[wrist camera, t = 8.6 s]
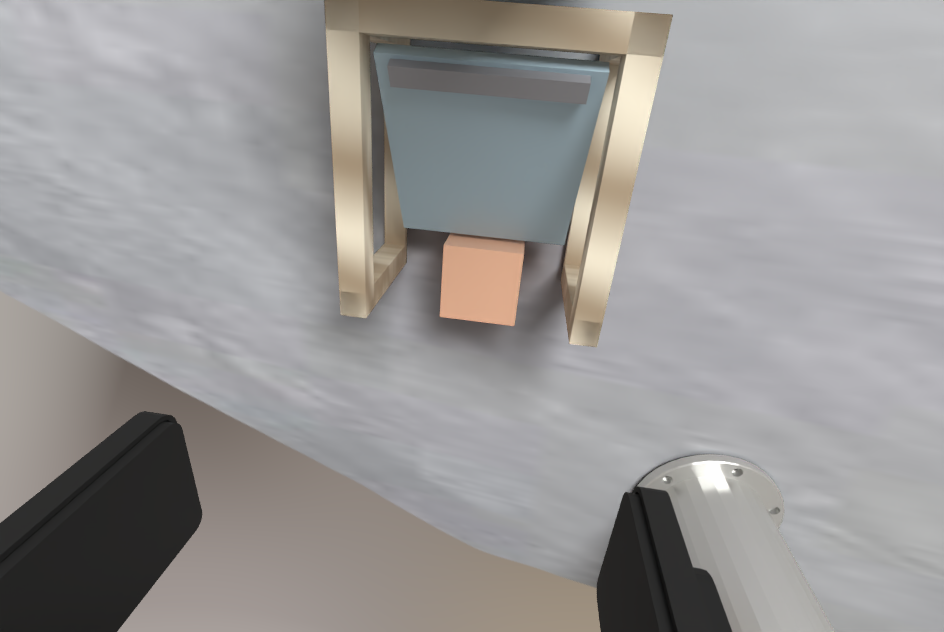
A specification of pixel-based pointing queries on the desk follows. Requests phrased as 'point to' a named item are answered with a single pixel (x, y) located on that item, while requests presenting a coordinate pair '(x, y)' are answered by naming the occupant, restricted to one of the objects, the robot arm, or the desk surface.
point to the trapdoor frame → (508, 25)
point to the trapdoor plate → (488, 138)
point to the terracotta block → (481, 278)
